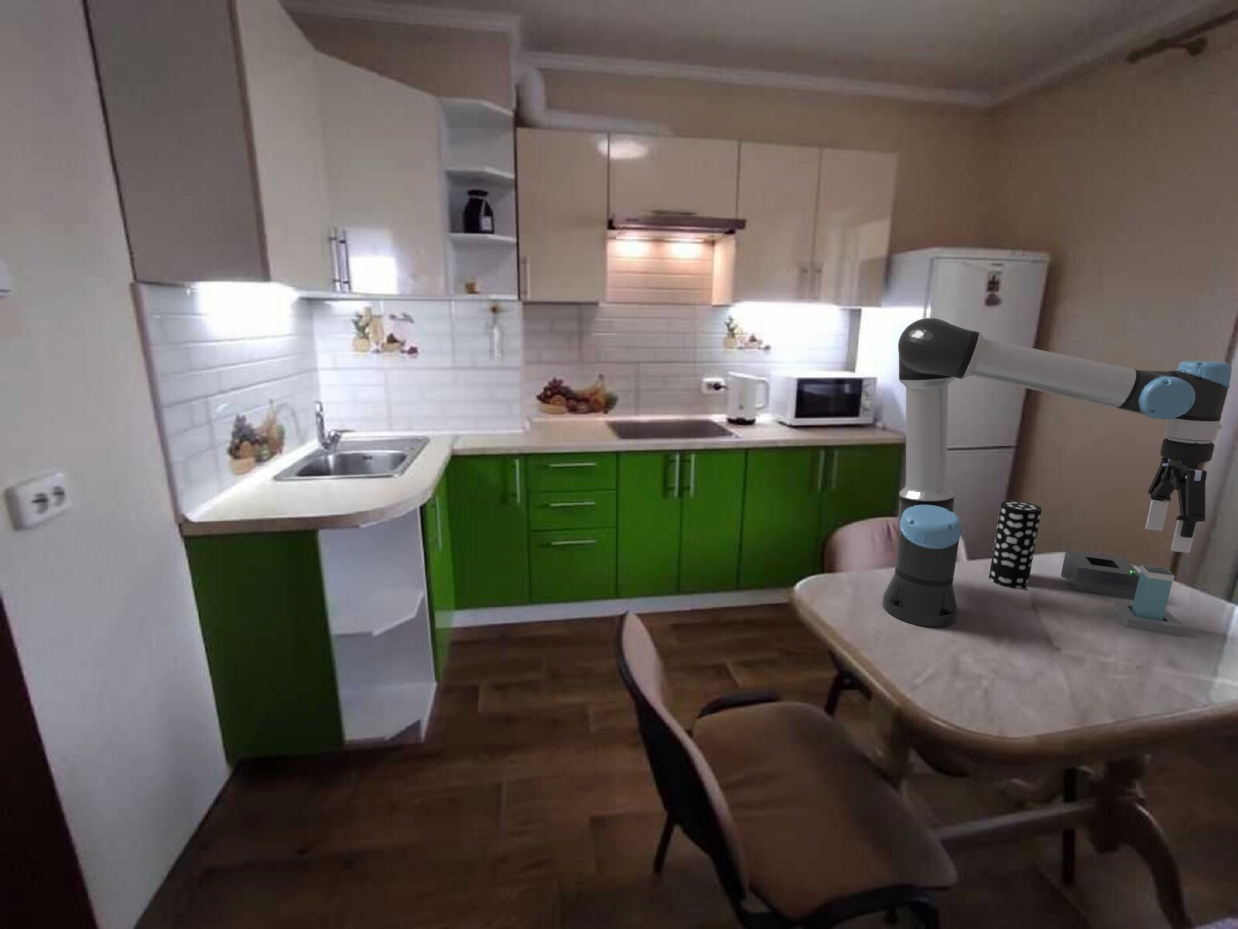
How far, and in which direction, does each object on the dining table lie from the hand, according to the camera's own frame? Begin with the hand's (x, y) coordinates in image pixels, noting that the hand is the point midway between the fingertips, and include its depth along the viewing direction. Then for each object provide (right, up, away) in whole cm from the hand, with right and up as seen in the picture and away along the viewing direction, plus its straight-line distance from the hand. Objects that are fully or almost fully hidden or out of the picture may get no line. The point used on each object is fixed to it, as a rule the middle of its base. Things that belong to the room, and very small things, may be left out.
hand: (1166, 540), depth 121 cm
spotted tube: (-15, -14, +27) cm, 34 cm away
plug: (0, -18, +5) cm, 19 cm away
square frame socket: (0, -19, +5) cm, 20 cm away
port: (+4, -15, +22) cm, 27 cm away
